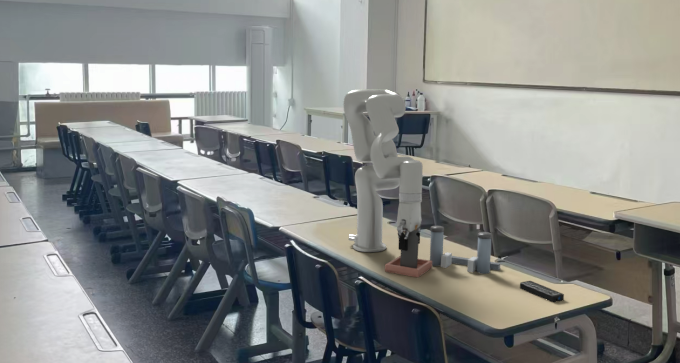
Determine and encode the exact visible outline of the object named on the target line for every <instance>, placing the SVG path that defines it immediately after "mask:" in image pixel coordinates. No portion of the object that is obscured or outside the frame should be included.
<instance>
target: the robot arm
mask: <svg viewBox="0 0 680 363" xmlns="http://www.w3.org/2000/svg"><path fill="white" fill-rule="evenodd" d="M342 105H343V113H344V116H345V119H346V120H347V122H348V123H347V124H348V126H349V128H350V135H351V140H352V145H353V151H354V155H355V156H354V157H355V159H356V161H358V162H360V163H363V164H364V163H365V164H367V163H371V164H372V165H371V164H369V165H363V166H360V167H358V168H357V170H356V171H355V175H354V183H355V187H356V198H357V199H356V200H357V202H356V204H357V207H356V211H357V213H356V216H357V218H356V221H357V222H356V224H357V225H356V226H357V227H356V234H349V235H348V241H352V242H354V243H353V244H352V248H353V249H354V250H355V251H358V252H363V253H378V252H382V251H384V250H386V249H387V245H386V243H384V242H383V220H384V219H383V218H384V217H383V214H384V212H383V208H384V207H383V206H384V205H383V204H384V203H383V200H382V198H381V196H380V195H379V194H378V191H387V190H388V191H389V190H394V189H397V188H398V187H399V191H398V192H399V193H398V198H399V199H398V201H399V204H398V209H397V218H396V230H397V238H398V250H399V251H401V250H404V251H407V250H408V239H407V237H408V234H409V232H412V231H414V230H415V226H416V225H418V226H417V229H418V233H416V235H417V236H418V237H419V244H420V243H421V227H422V221H423V220H422V218H423V217H422V206H421V203H422V202H423V199H422V198H423V163H422V162H421V161H420V160H416V159H414V158H413V157H411V156H398V152H397V147H396V146H397V145H396V143H395V142H394V140H393V139H395V138H396V136H398V134H399V133H400V130H399V126H398V124H397V120H396V118H401V117H403V116H404V115H405V113H406V108H407V107H406V106H407V105H406V101H405V99H404V98H403V97H402V96H401V95H400V94H398V93H396V92H394V91H392V90H388V89H383V88H380V89H379V88H377V89H376V88H372V89H371V88H369V89H367V88H363V89H360V88H359V89H353V90H350V91H348V92H347V93H346V94H345V96H344V98H343V104H342ZM365 113H367V115H368V117H367V116H366V115H365ZM404 229H406V230H404ZM404 233H405V234H404Z"/></svg>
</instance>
